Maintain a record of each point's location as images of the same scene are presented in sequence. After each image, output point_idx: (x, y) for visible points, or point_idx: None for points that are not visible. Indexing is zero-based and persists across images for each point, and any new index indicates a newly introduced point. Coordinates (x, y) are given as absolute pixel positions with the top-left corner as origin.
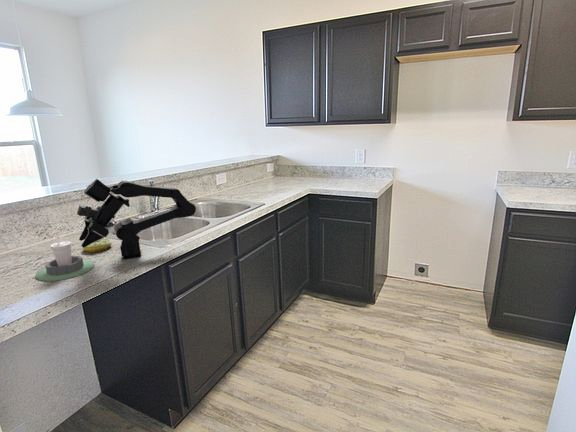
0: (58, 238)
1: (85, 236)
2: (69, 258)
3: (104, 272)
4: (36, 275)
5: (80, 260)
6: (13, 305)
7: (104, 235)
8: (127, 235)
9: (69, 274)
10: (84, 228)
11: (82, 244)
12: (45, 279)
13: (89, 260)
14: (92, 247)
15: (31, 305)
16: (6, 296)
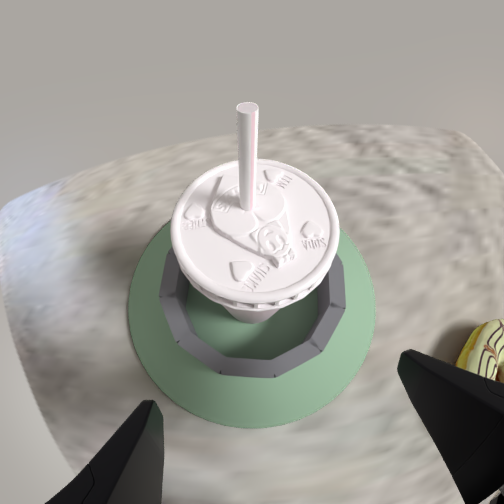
0: (242, 168)
1: (424, 405)
2: (226, 308)
3: None
4: None
5: (216, 371)
6: (49, 195)
7: None
8: None
9: (161, 319)
10: (498, 397)
11: (134, 413)
12: (163, 232)
13: (332, 397)
14: None
15: (20, 233)
16: (114, 163)
